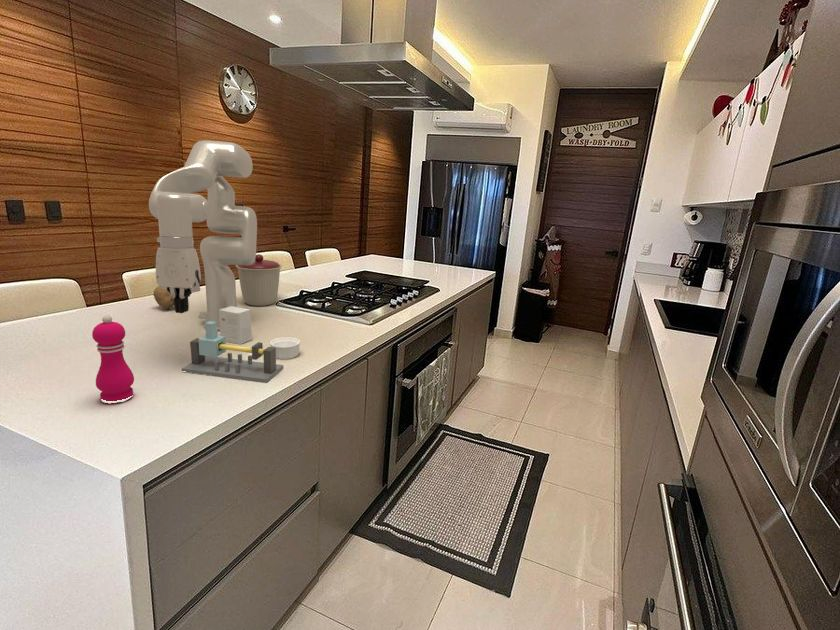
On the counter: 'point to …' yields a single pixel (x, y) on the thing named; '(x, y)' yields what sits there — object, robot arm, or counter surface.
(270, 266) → the canister
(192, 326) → the counter surface
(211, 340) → the sleeve
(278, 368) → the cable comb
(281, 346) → the ramekin
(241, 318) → the small box
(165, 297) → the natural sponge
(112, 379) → the pepper mill
